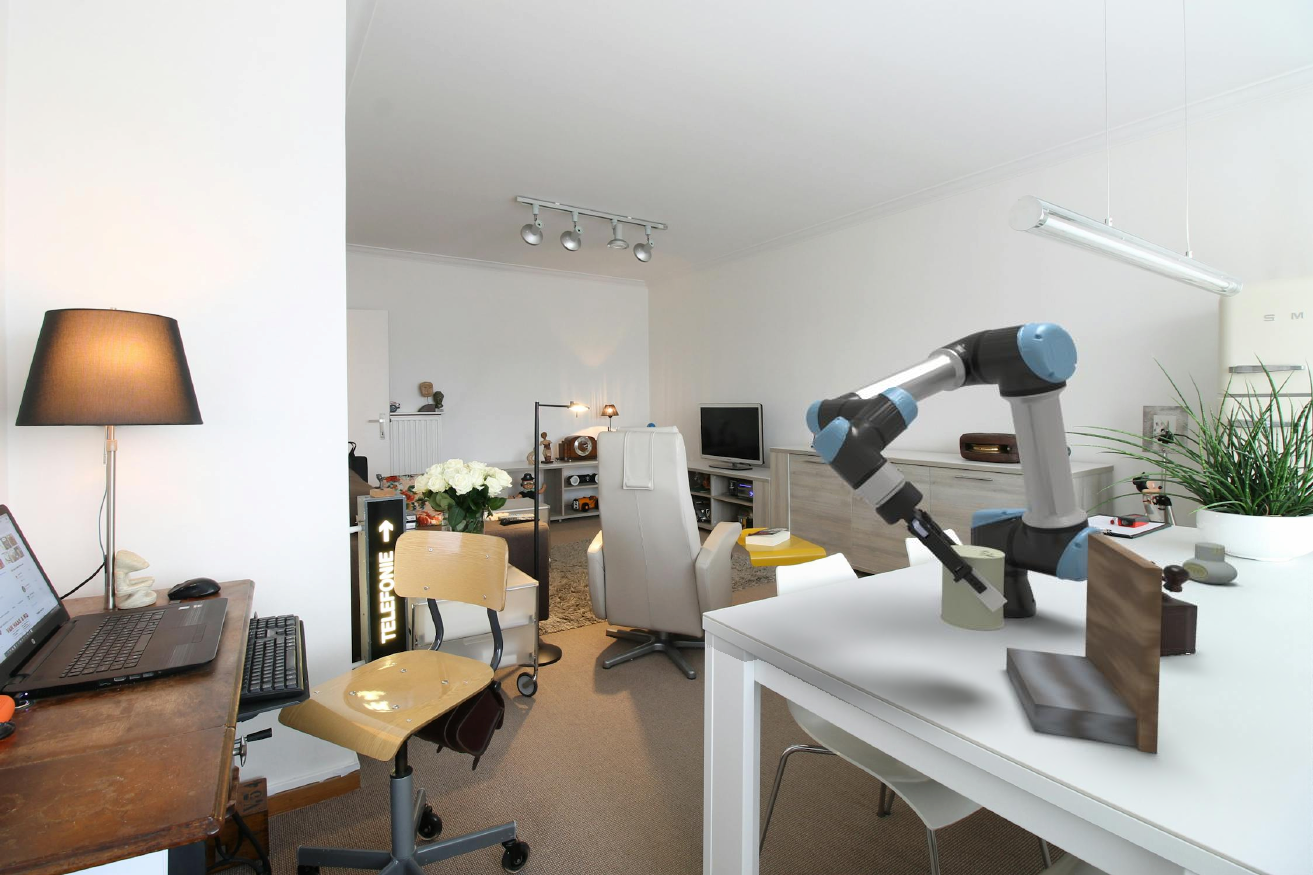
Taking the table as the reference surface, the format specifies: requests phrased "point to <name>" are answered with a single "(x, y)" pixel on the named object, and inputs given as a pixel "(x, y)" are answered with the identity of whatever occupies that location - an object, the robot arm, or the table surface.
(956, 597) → the can
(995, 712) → the table surface
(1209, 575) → the air freshener
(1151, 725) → the l-shaped bookend
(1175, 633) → the dark brown coffee grinder
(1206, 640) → the table surface
